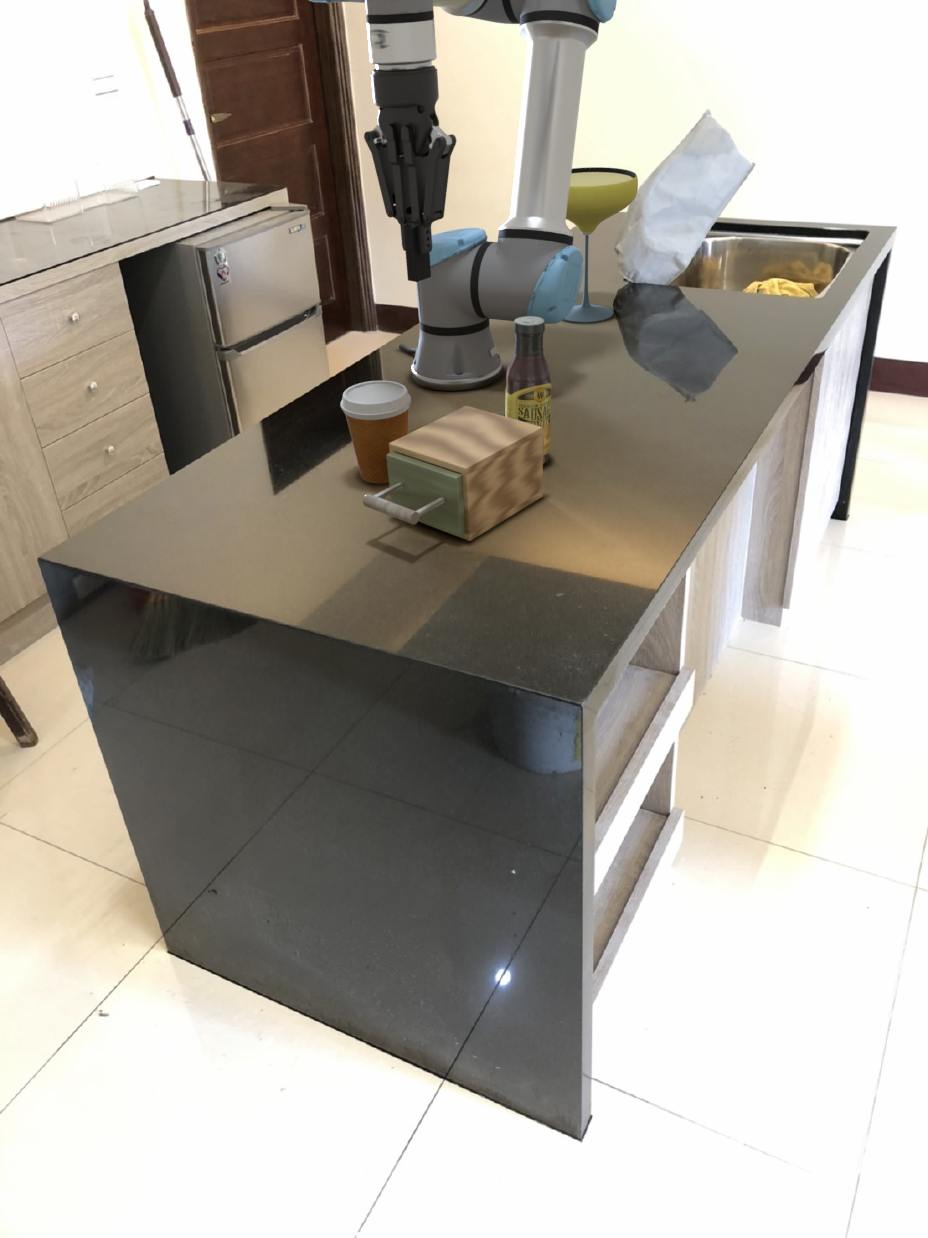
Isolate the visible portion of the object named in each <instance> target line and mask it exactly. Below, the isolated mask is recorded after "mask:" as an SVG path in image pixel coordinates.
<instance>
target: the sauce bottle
mask: <svg viewBox="0 0 928 1238" xmlns="http://www.w3.org/2000/svg"><path fill="white" fill-rule="evenodd" d="M545 330H546V324H545V321H544V319H542V318H540V317H532V316H527V317H520V318H517V319H515V321H513V331H514V334H515V337H514V339H515V340H514V341H515V342H514V356H513V358H512V359H511V360H510V362H509V363H508V366H507V369H506V374H505V375H506V376H505V379H506V380H505V383H506V384H505V385H506V386H505V393H504V394H505V402H504V403H505V404H504V407H505V409H504V413H505V414H504V415H505V417H508V418H512V419H515V420H519V421H522V422H526V423H530V424H533V425H537V426H540V427H542V443H543V465H544V464H546V463H547V462H548V459H549V452H550V449H551V448H550V447H551V445H550V444H551V411H552V410H551V409H552V408H551V407H552V379H551V373H550V369H549V364H548V361H547V360H546V357H545V354H544V351H545V350H544V333H545Z"/></svg>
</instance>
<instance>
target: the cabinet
mask: <svg viewBox="0 0 928 1238" xmlns="http://www.w3.org/2000/svg"><path fill="white" fill-rule="evenodd" d="M389 449H390V453H391V452H396V453H399V454H402V455H405V456H406V455H407V456H410V457H413V458H416V459H419V460H422V461H425V462H428V463H431V464H434V465H437V466H440V467H443V468H446V469H449V470H452V471H455V472H458V473H461V475H462V478H463V496H464V513H465V530H466V533H465V534H463V535H462V536H460V537H459V536H456V535H454V537H455V536H456V537H459V538H460V539H462V540H466V541H468V542H471V541H473V540H474V539H476V538H477V537H479V536H480V535H483V534H484V533H486V532H487V531H489V530H490V529H492V528H494V527H496V526H497V525H500V524H501V523H502V522H504V521H505V520H507V519H509V518H510V517H512V516H514V515H515V514H517V513H518V512H520V511H521V510H523V509H525V508H526V507H528V506H530V505H532V504H533V503H535V502H536V501H538V500H539V499H541V498H543V497H544V467H543V466H544V464H543V443H542V427H540V426H537V425H533V424H530V423H526V422H522V421H519V420H515V419H512V418H508V417H505V416H504V415H501V414H498V413H493V412H490V411H487V410H483V409H479V408H476V407H472V406H468V405H464V406H462V407H461V408H459V409H456V410H454V411H452V412H450V413H448V414H447V415H443V416H442V417H440V418H438V419H436V420H434V421H432V422H430V423H427V424H426V425H423V426H421V427H419V428H417V429H416V430H413V431H410V432H409V433H407V435H405V436H403V437H401V438H399V439H397V440H395V441H393V442H391V443H389ZM420 523H422V522H420ZM422 524H423V525H427V524H425V523H422ZM427 526H429V527H431V526H430V525H427ZM433 528H434V529H437V530H439V529H438V528H435V527H433ZM441 531H442V532H445V533H448V532H446V531H443V530H441ZM448 534H451V533H448ZM451 535H452V534H451Z"/></svg>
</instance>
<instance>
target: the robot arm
mask: <svg viewBox="0 0 928 1238" xmlns="http://www.w3.org/2000/svg"><path fill="white" fill-rule="evenodd" d="M308 1H309V2H312V3H326V4H328V5H329V4H333V3H358V4H359V3H360V4H361V3H363V4H365V5H364V6H365V11H366V12H365V13H366V14H365V19H366V30H367V40H368V53H369V63H371V64H372V65H375V68H374V69H372V72H371V73H370V78H371V90H372V99H373V103H374V105H375V106H376V107H378V108H379V109H378V115H377V125H376V126H375V127H374V128H373V129H372V130H368V131H365V132H364V133H363V139H364V141H365V144H366V145H367V147H368V149H369V151H370V153H371V158H372V160H373V164H374V165H373V166H374V170H375V173H376V177H377V181H378V185H379V190H380V194H381V197H382V203H383V206H384V210H385V213H386V216H387V217H388V218H394V219H395V220H396V221H397V223H398V224H399V225H400V226H399V227H400V237H401V247H402V251H405V263H406V274H407V275H406V276H407V281H408V282H414V283H415V284H416V285H415V286H416V297H417V311H418V323H419V335H418V341H417V345H416V348H415V347H414V348H413V347H410V346H407V345H405V344H403V343H400V344H399V345H398V348H399V350H401V351H403V352H406V353H408V354H413V355H414V359H413V361H412V364H411V373H412V380H413V381H414V382H415V383H416V384H417V385H419V386H421V387H423V388H425V389H426V388H427V389H430V390H436V391H451V392H452V391H454V392H455V391H466V390H467V391H468V390H472V389H478V388H483V387H485V386H488V385H490V384H493V383H495V382H496V381H498V380H499V379H500V378H501V377H502V375H503V361H502V359H501V356H500V354H499V353H498V352H499V351H498V348H497V345H496V344H495V340H494V337H493V334H492V331H491V327H490V320H496V321H508V322H514V321H515V319H517V318H520V317H527V316H532V317H540V318H542V319H544V321H545V325H555V324H559V323H560V322H563V321H564V320H563V319H564V318H565V317H566V316H567V315H568V314H569V312H570V311H571V309H572V308H573V306H574V305H576V301H577V299H578V296H579V293H580V290H581V286H582V282H583V275H584V266H583V264H584V258H583V253H582V252H581V249H580V248H578V247H577V246H575V245H574V237H575V235H574V233H573V232H572V231H571V229H570V228H569V226H568V225H567V222H566V221H567V219H566V213H567V205H568V197H569V188H570V180H571V171H572V169H573V164H574V163H573V162H574V153H575V144H576V136H577V128H578V121H579V111H580V104H581V103H580V102H581V96H582V95H581V92H582V87H583V86H582V85H583V78H584V77H583V76H584V68H585V61H586V52H587V50H588V49H590V48H591V46H592V45H594V44H595V43H596V42H597V41H598V38H599V31H600V24H606V23H607V22H609V21H611V20H612V19H613V17H614V15H615V11H616V7H617V2H618V1H617V0H308ZM434 7H438V8H440V9H442V11H444V12H445V13H447V14H449V15H451V16H455V17H464V18H471V19H475V20H481V21H485V22H491V23H496V24H504V25H519V29H518V34H519V35H520V37H522V39H523V40H524V42H525V43H526V44H527V49H526V51H527V52H526V60H525V70H524V79H523V89H522V100H521V108H520V118H519V128H518V138H517V146H516V147H517V148H516V156H515V165H514V175H513V177H514V178H513V184H512V185H513V186H512V193H511V194H512V195H511V206H510V215H509V217H508V219H507V220H506V221H505V222H504V223H503V224H502V225H501V226H499V228H498V236H497V241H488V235H487V232H486V230H485V229H483V228H480V227H467V228H458V229H452V230H447V231H442V232H439V233H436V234H435V233H434V234H433V233H432V225H433V223H434V222H437V221H439V220H442V219H443V218H444V216H445V209H446V201H447V200H446V199H447V191H448V185H449V183H448V182H449V176H450V175H449V173H450V165H451V158H452V157H451V156H452V154H453V151H454V149H455V147H456V145H457V137H456V135H455V134H447V133H446V132H445V131H444V130H443V129H442V128H441V127H440V120H439V117H438V115H437V111H436V104H437V102H438V101H439V98H440V94H439V91H440V90H439V75H438V69H437V67H436V65H433V63H432V62H433V61H435V60H436V59H437V57H438V56H437V41H436V28H435V27H436V26H435V13H434Z"/></svg>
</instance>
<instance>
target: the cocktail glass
mask: <svg viewBox="0 0 928 1238" xmlns="http://www.w3.org/2000/svg"><path fill="white" fill-rule="evenodd" d="M638 188H639V179H638V175H637V173H636V172H634V171H632V170H628V169H624V168H617V167H601V166H600V167H597V166H595V167H594V166H593V167H592V166H591V167H589V166H588V167H574V168H573V167H572V171H571V180H570V188H569V197H568V205H567V213H566V221H569V222H570V223H572V224H574V226H575V227H576V228H577V230H578V231H579V232H580V234H582V235H583V236H584V272H583V275H584V278H583V279H584V281H583V294H582V295H583V296H582V301H581V304H574V306H573V308H572V309H571V311H570V312H569V314H568V315H567V316H566V317H565V318H564V319H563V320H562V321H566V322H568V323H575V324H577V323H579V324H591V323H599V322H603V321H606V320H608V319H611V318H612V317H613V316H614V310H613V309H612V308H610V307H608V306H605V305H600V304H591V303H590V296H589V237H590V236H591V235H593V233H594V232H595V231H596V229H597V227H598V226H599V225H600V224H602V222H604V221H605V220H608V219H609V218H611V217H613V216H614V215H616V214H618V213H620V212H621V211H623V210H625V209H626V208H627V207H629V205H631V204H632V203H633V202H634V200H635V199H636V198H637V194H638V190H639V189H638Z"/></svg>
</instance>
